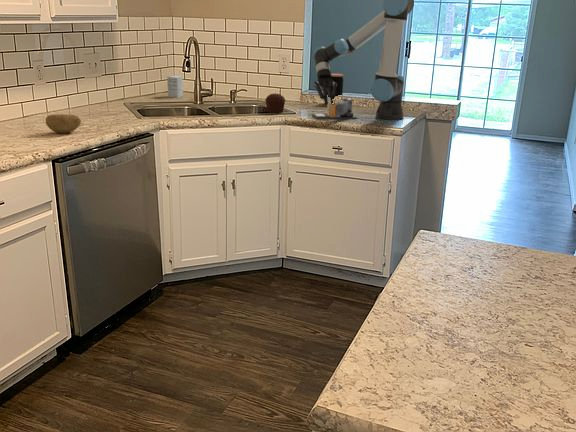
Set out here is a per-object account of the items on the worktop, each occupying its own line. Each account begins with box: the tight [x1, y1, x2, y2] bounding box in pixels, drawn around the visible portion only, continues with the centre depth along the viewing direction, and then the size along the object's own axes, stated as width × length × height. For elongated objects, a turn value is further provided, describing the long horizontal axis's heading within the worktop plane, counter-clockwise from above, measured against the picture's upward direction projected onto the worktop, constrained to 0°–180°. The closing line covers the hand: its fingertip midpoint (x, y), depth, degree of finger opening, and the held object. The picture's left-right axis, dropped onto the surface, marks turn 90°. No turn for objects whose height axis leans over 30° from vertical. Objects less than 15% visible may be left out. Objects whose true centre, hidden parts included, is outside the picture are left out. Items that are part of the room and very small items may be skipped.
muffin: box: [264, 93, 286, 114], centre depth 322 cm, size 12×11×10 cm
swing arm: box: [328, 97, 354, 117], centre depth 304 cm, size 23×5×7 cm, turn 152°
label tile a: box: [324, 113, 341, 120], centre depth 312 cm, size 6×10×1 cm, turn 11°
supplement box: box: [166, 75, 184, 99], centre depth 367 cm, size 7×7×13 cm
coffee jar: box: [326, 73, 344, 96], centre depth 362 cm, size 11×11×18 cm
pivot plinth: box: [339, 112, 358, 120], centre depth 314 cm, size 9×9×3 cm
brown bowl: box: [45, 113, 82, 134], centre depth 246 cm, size 10×14×8 cm
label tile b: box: [311, 113, 329, 120], centre depth 311 cm, size 6×10×1 cm, turn 11°
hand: (329, 109), depth 299 cm, fingers closed
